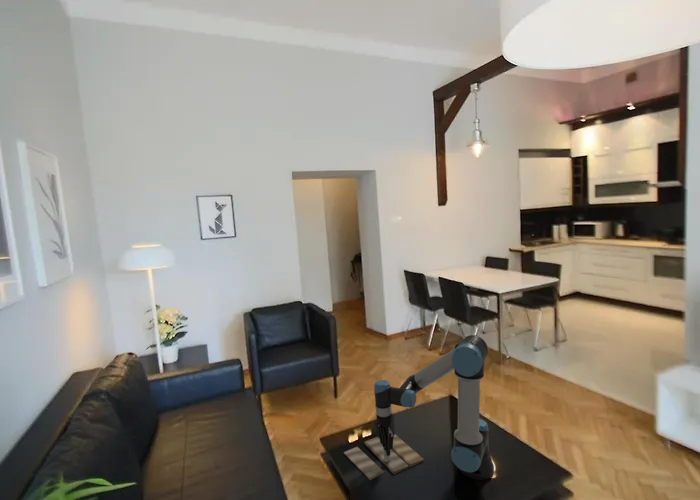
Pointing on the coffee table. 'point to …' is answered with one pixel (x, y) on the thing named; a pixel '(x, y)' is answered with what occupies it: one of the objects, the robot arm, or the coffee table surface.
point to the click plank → (376, 447)
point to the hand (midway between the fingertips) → (387, 460)
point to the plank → (364, 463)
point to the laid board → (405, 452)
